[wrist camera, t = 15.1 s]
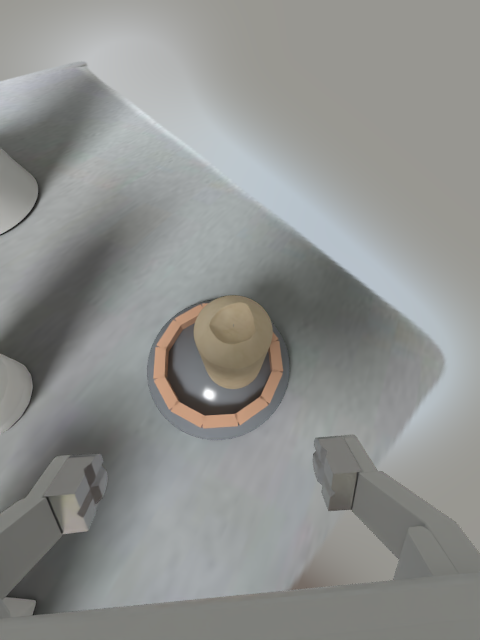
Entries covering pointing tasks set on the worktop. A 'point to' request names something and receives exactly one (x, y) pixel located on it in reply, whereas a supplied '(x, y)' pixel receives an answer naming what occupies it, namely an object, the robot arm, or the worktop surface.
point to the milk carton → (19, 606)
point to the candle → (233, 340)
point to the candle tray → (211, 384)
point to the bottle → (13, 391)
